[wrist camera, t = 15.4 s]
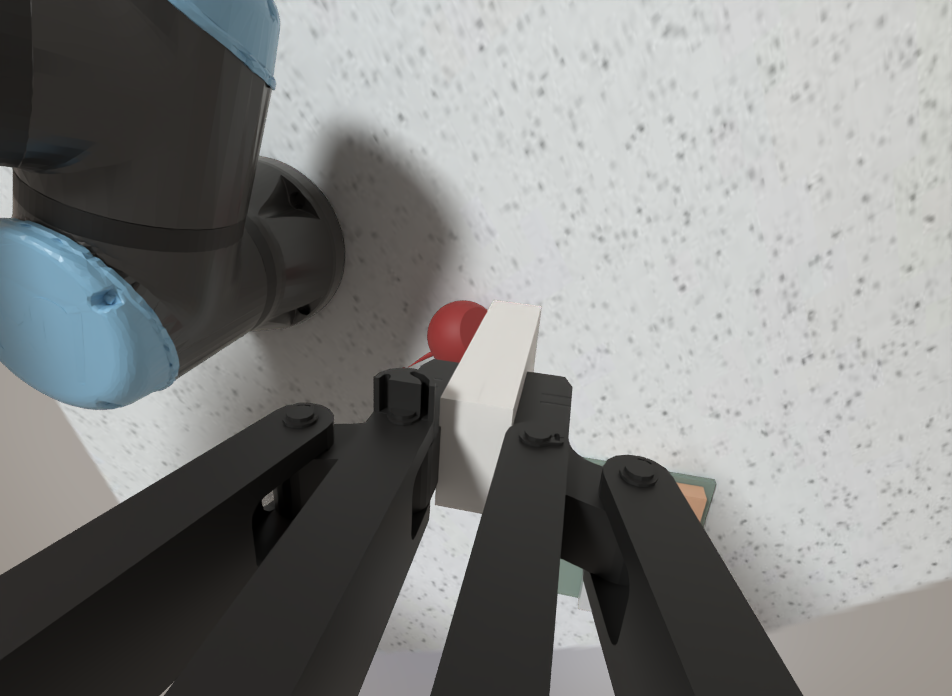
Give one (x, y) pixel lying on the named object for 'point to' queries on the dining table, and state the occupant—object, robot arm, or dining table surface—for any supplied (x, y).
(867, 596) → the dining table surface
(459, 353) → the fruit
